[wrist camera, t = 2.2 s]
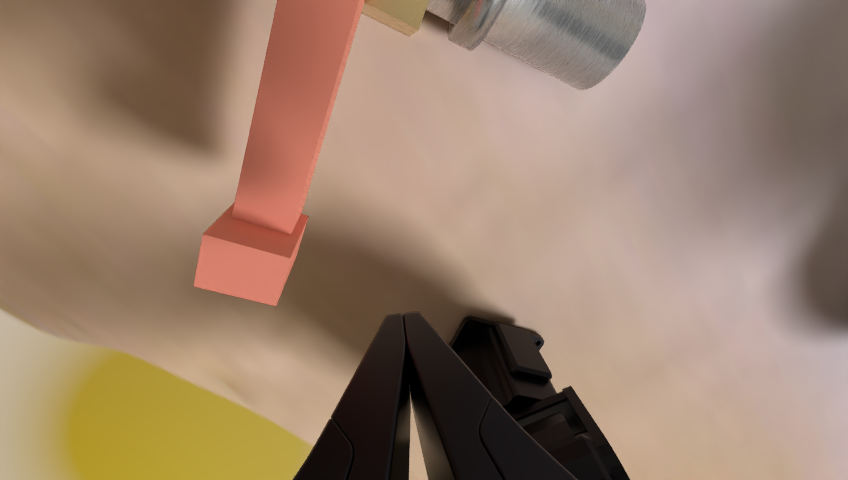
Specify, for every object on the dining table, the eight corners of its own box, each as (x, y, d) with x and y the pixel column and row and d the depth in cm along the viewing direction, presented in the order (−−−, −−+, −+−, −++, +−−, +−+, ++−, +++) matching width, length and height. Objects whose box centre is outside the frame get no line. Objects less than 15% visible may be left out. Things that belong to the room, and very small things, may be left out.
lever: (310, 251, 16) (290, 309, 12) (226, 227, 15) (176, 282, 11) (444, -163, 10) (482, -286, 7) (323, -245, 9) (289, -445, 6)
